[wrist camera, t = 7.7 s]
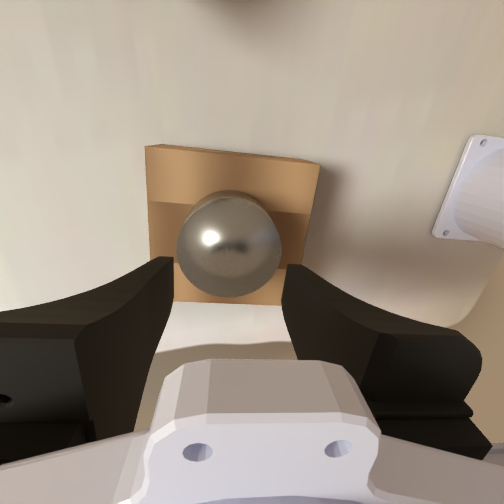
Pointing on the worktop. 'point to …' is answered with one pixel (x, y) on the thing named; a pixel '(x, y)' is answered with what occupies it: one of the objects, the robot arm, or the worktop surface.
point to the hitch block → (227, 178)
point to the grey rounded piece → (228, 245)
